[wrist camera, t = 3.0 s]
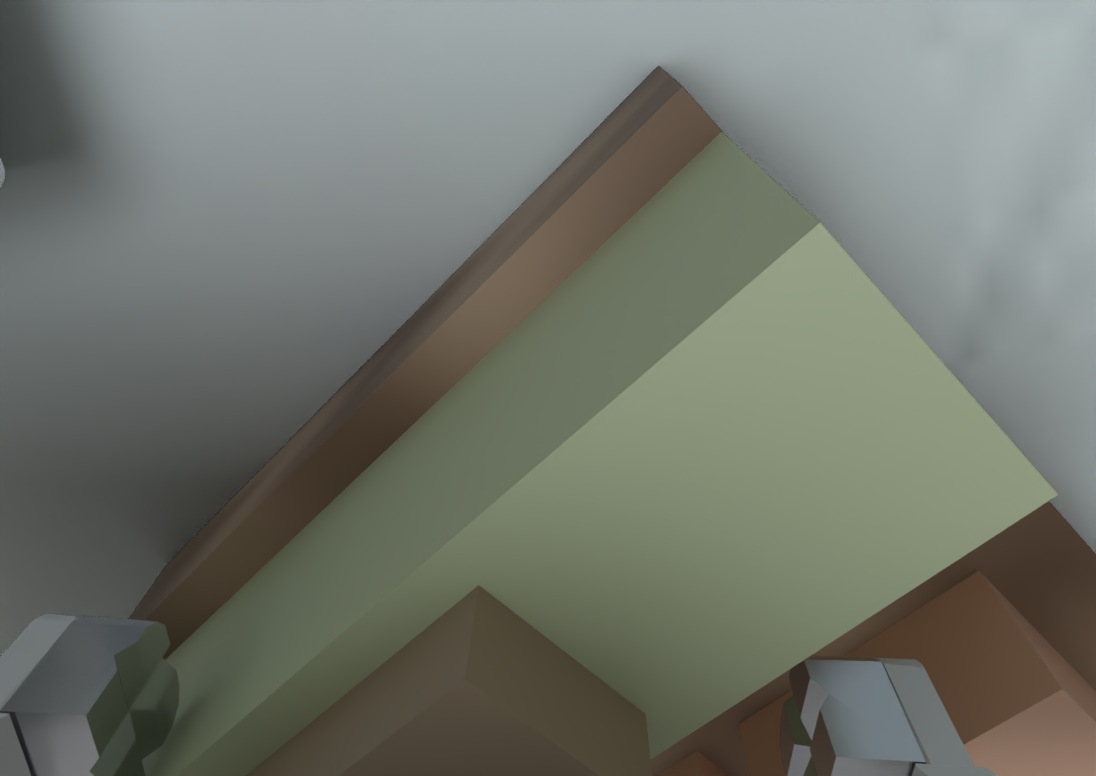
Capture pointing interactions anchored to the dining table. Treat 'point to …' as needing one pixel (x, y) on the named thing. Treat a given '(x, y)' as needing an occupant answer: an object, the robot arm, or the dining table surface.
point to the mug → (2, 173)
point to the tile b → (977, 687)
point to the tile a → (694, 767)
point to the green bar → (612, 516)
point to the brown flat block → (489, 316)
